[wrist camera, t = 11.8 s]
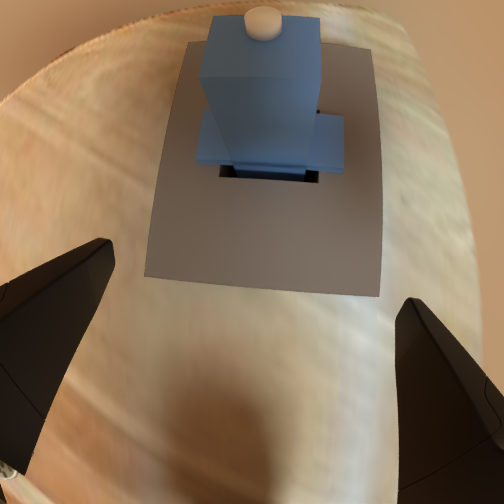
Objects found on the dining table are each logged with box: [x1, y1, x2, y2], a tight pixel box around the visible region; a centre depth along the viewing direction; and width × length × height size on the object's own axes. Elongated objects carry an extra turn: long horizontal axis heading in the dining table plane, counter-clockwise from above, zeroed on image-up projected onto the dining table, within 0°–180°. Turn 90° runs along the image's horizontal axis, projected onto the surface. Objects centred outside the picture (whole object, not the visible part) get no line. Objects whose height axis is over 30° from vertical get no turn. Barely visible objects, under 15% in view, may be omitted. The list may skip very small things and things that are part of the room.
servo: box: [195, 6, 344, 182], centre depth 16 cm, size 4×9×14 cm, turn 85°
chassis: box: [144, 41, 383, 297], centre depth 21 cm, size 18×14×4 cm
